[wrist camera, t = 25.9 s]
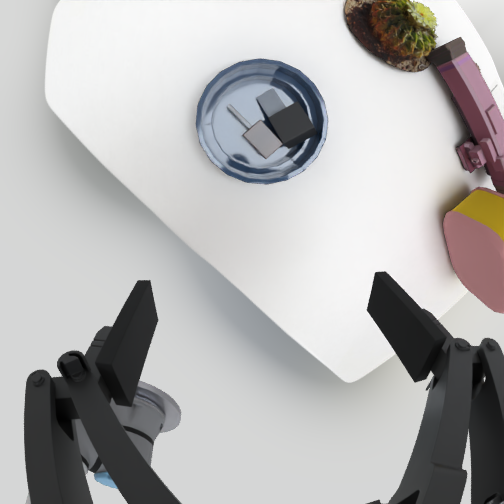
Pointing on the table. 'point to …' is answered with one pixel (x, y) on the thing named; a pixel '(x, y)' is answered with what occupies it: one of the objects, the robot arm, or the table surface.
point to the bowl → (244, 101)
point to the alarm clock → (478, 245)
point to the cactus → (394, 30)
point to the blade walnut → (258, 135)
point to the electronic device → (473, 110)
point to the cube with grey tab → (287, 119)
